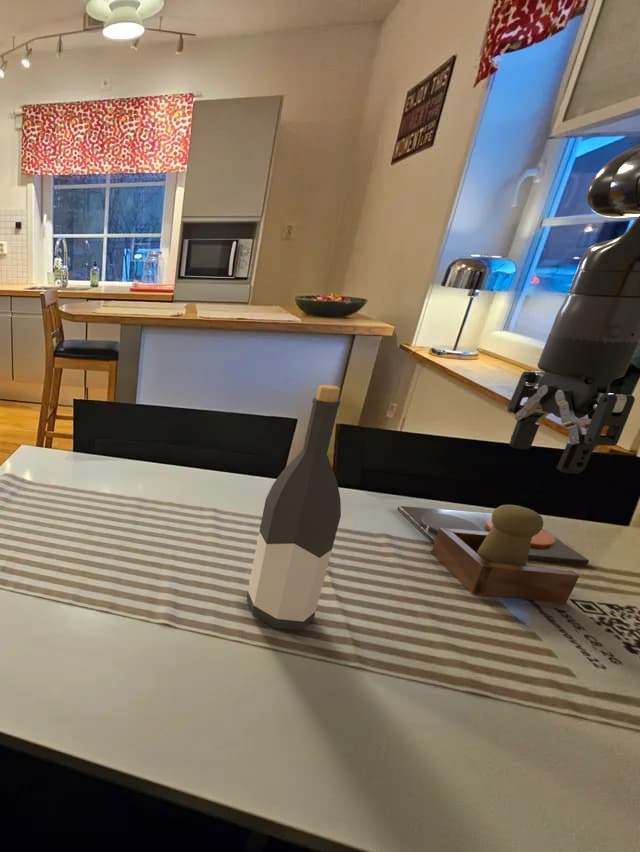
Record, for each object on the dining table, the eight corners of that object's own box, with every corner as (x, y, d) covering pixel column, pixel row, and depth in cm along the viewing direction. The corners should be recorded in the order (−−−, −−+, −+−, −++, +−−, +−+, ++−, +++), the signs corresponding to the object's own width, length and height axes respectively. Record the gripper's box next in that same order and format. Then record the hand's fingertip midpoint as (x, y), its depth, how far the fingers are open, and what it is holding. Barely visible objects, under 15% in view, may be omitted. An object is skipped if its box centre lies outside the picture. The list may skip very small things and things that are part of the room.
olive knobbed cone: (481, 585, 69) (509, 517, 65) (458, 561, 75) (482, 497, 71) (532, 592, 68) (563, 522, 64) (505, 567, 74) (532, 501, 70)
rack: (511, 560, 75) (522, 534, 74) (566, 603, 66) (579, 575, 64) (430, 552, 77) (439, 527, 76) (471, 593, 68) (482, 566, 66)
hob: (521, 519, 87) (523, 513, 87) (587, 564, 74) (591, 557, 74) (397, 509, 90) (399, 503, 90) (439, 550, 78) (442, 543, 77)
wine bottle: (314, 603, 66) (372, 383, 55) (311, 641, 59) (374, 400, 48) (250, 584, 69) (292, 375, 58) (240, 617, 63) (284, 389, 52)
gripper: (692, 345, 52) (624, 484, 58) (580, 328, 65) (534, 443, 71) (609, 342, 53) (550, 479, 59) (515, 326, 66) (475, 439, 72)
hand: (541, 459), depth 65 cm, fingers open, 8 cm apart
